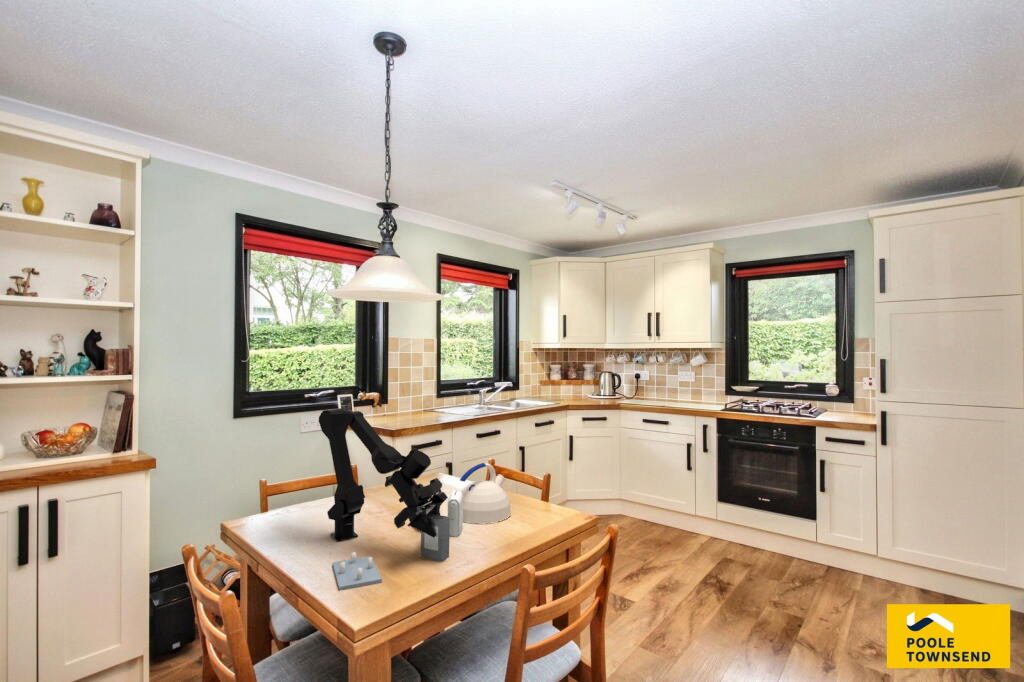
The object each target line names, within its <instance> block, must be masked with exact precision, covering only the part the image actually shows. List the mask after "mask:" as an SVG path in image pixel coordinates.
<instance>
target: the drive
mask: <svg viewBox="0 0 1024 682" xmlns="http://www.w3.org/2000/svg"><path fill="white" fill-rule="evenodd" d="M426 517H427V519H428V521H429V523H430V524H431V526H432V527H433V529H434V531H435V533H436V536H435V537H434V538H433V537H431V536H430V535H428V534H426V533H424V532H422V531H420V558H422V557H423V559H427V558H428V560H431V559H432V561H436V562H440V561H441V563H442V562H444V561H445V560H447V559H448V558H450V536H449V530H450V517H448V515H447V516H446V515H441V514H440V515H435V514H430V513H428V514H426Z"/></svg>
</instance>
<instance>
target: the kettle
mask: <svg viewBox="0 0 1024 682" xmlns="http://www.w3.org/2000/svg"><path fill="white" fill-rule="evenodd" d="M484 467H485V468H488V470H489V480H483V479H481V480H480V479H479V480H475V481H473V482H470V483H468V484H467V485H466V486H464V487H463V488H462V490H460V491H461V493H462V494H463V523H465V522H466V523H467V524H471V523H479V524H478V525H483V524H482V523H491V522H497V521H500V520H503V519H505V518H507V517H508V516H509V515H510V513H511V514H512V512H511V502H510V499H509V497H508V493H506V491H505V490H504V489H503V488H502V485H503V484H504V482H505V481H506V478H505V477H504V475H502V474H496V469H495V468H494V466H493V465H492V464H490V463H485V462H482V463H479V464H477V465H474V466H472V467H471V468H469V469H468V470H467V471H466V472H464V473H463V475H462V476H461V477H460V479H459V481H460V482H464V483H465V482H466V481H467V479H468V478H469V477H471V475H472V474H473V473H474V472H476V471H478V470H479V469H482V468H484ZM510 516H511V515H510Z"/></svg>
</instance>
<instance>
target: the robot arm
mask: <svg viewBox="0 0 1024 682" xmlns="http://www.w3.org/2000/svg"><path fill="white" fill-rule="evenodd" d="M318 422H319V423H318V425H319V426H320V430H321V432H322V433H323V435H324V436H326V438H327V439H328V442H329V448H330V453H331V457H332V458H331V459H332V463H333V469H334V473H335V479H336V489H335V492H334V496H333V500H334V504H333V505H332V506H331V508H330V509H328V511H327V513H326V514H327V516H328V519H329V520H331V521H332V520H333V521H334V532H331V533H330V536H331V537H332V538H333V539H334V540H335V541H336V542H341V541H344V540H349V539H354V538H358V537H359V534H358V533H356V532H355V516H356V515H359V514H360V513H361V511H362V508H363V506H364V505H365V498H366V495H365V493H364V487H363V484H358V483H357V482H356V481H355V478H354V473H353V472H354V471H353V468H352V462H351V457H350V452H349V448H348V442H347V438H346V434H347V431H348V428H349V427H350V429H351V430H352V431H353V433H354V434H355V436H356V437H357V438H358V439H359V440H360V441H361V443H362V444H363V445H364V447H365V448H366V449H367V451H368V452H369V453H370V456H371V462H372V465H373V466H374V468H375V470H376V471H377V473H378V474H380V475H381V474H382V475H386V474H389V473H392V472H393V473H392V474H391V475H388V476H386V477H385V483H384V487H385V488H387V487H389V486H392V487H393V489H394V490H395V491H396V492H397V494H398V495H399V497H400V498H399V499H398V501H399V503H403V502H404V504H405V506H406V507H404V508H402V509H401V510H400V511H399V512H398V513H397V515H395V517H394V518H393V524H394V525H395V527H396V528H397V529H400V528H402V527H404V526H405V525H406V521H407V520H408V521H409V522H408V524H407V527H412V529H413V528H414V529H416V530H418V531H420V532H421V531H422V532H424V533H426V534H428V535H430V536H431V537H433V538H434V537H435V536H436V533H435V531H434V529H433V527H432V526H431V524H430V523H429V521H428V519H427V517H426V514H428V513H430V514H435V515H441V511H440V509H441V506H442V505H443V503H444V502H445V501H447V499H449V497H448V496H447V494H446V493H445V492H443V491H442V488H443V483H442V482H441V481H440V479H439V478H438V477H436V478H433V479H431V480H429V484H427V485H425V486H424V485H423V484H422V483H418V484H417V482H416V480H415V479H419V478H420V477H421V476H422V475H423V473H424V472H425V471H426V470H427V469H428V468H429V467H430V466H431V464H432V463H431V462H432V461H431V458H430V457H429V455H428V454H426V453H425V452H423V451H421V450H419V449H418V448H417V447H415V448H412V449H411V450H410V451H409V452H408V454H407V455H402V453H400V452H399V451H398V450H397V449H396V448H395V447H394V446H392V445H390V444H388V443H386V442H385V441H384V440H383V438H381V436H380V435H379V434H378V433H377V432H376V430H375V429H374V428H373V427H372V425H371V424H370V423H369V422H368V419H366V418H365V416H364V414H363V412H362V411H359V410H355V411H354V410H353V411H351V410H350V411H349V410H348V411H346V410H345V409H344V408H339V407H338V408H332V409H325V410H323V411H321V413H320V415H319V416H318Z"/></svg>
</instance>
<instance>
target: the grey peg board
mask: <svg viewBox="0 0 1024 682" xmlns="http://www.w3.org/2000/svg"><path fill="white" fill-rule="evenodd" d="M350 558H351V559H346V560H339V561H334V562H332V568H333V572H334V577H335V580H336V584H337V587H338V591H342V590H343V591H344V590H347V589H349V590H350V589H354V588H359V587H364V586H369V585H374V584H380V583H382V582H383V579H382V576H381V574H380V571H379V570H378V567H377V566H376V563H375V560H374V558H373V556H372V555H369V556H364V557H357V552H356V551H352V552H351V553H350Z"/></svg>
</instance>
